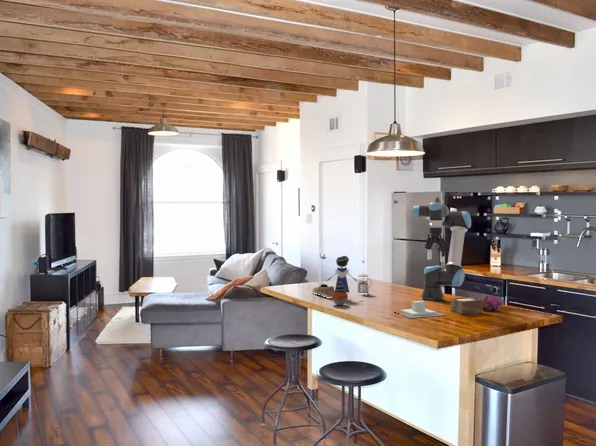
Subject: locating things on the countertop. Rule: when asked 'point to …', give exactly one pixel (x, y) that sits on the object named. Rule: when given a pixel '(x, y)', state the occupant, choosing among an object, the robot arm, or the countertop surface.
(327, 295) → the slip on shoe
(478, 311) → the storage box
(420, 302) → the lid
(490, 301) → the anatomical model
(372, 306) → the countertop surface
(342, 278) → the figurine
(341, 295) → the grenade
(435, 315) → the mat
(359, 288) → the french press
